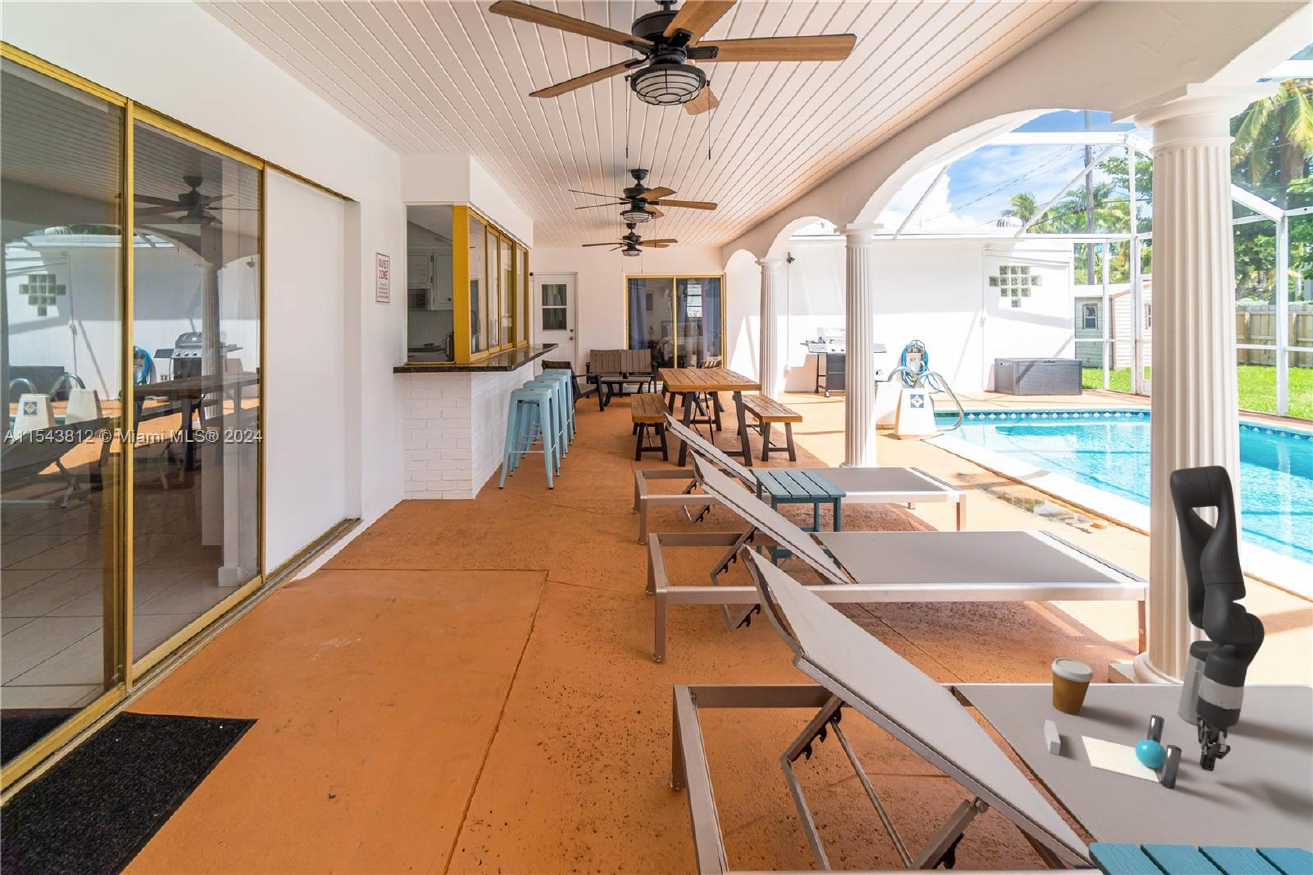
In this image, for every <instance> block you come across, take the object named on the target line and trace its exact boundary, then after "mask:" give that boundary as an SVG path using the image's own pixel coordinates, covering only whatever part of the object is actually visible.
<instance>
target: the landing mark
mask: <svg viewBox="0 0 1313 875" xmlns="http://www.w3.org/2000/svg"><path fill="white" fill-rule="evenodd" d="M1081 738H1082V741H1083V742H1082V743H1083V745H1084V747H1085V750H1086V754H1087V756H1088V759H1089V761H1090V762H1089V763H1090V765H1091V767H1092V768H1097V769H1101V770H1105V771H1108V772H1112V773H1117V774H1122V775H1125V776H1130V777H1134V778H1137V779H1141V778H1142V779H1141V780H1145V779H1146V781H1150V782H1153V781H1154V783H1157V784H1160V781H1159V779H1158V777H1157V774H1156V772H1155V770H1154V768H1151V767H1148V766H1146V765H1144V764H1143V763H1141V762H1140V761H1139V759H1138V758H1137V756H1136V753H1135V748H1136V747H1132V746H1129V745H1123V744H1119V743H1114V742H1112V741H1111V742H1110V741H1106V740H1103V739H1098V738H1094V737H1089V736H1085V735H1081Z"/></svg>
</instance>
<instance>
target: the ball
mask: <svg viewBox="0 0 1313 875" xmlns="http://www.w3.org/2000/svg"><path fill="white" fill-rule="evenodd" d="M1134 748H1135V753H1136V756H1137V758H1138V759H1139V761H1140V762H1141V763H1143V764H1144V765H1146V766H1148V767H1151V768H1153V769H1159V768H1161V767H1162V768H1163V765H1164V760H1165V755H1166V749H1165V748H1164V746H1162V745H1161V743H1160V744H1159V743H1158V742H1156V741H1153V740H1147V739H1142V740H1139V742H1137V743H1136V746H1135V747H1134Z"/></svg>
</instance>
